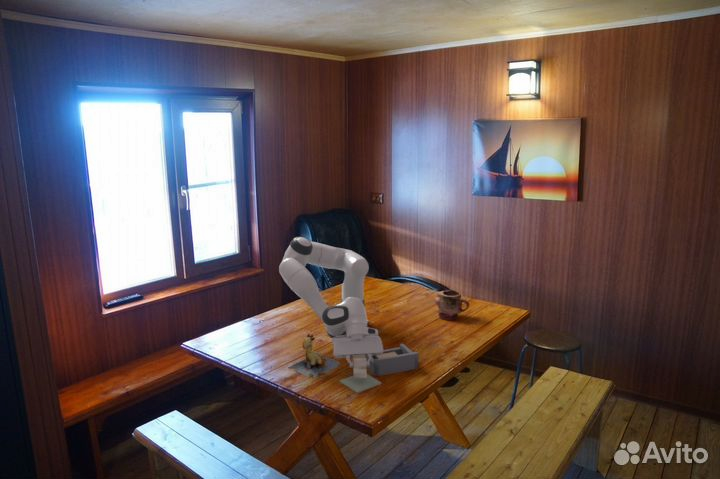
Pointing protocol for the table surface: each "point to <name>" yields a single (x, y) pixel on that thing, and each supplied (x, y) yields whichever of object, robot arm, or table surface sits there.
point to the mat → (360, 383)
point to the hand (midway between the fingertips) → (359, 366)
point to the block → (359, 366)
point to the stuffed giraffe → (313, 361)
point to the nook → (393, 361)
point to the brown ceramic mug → (450, 304)
